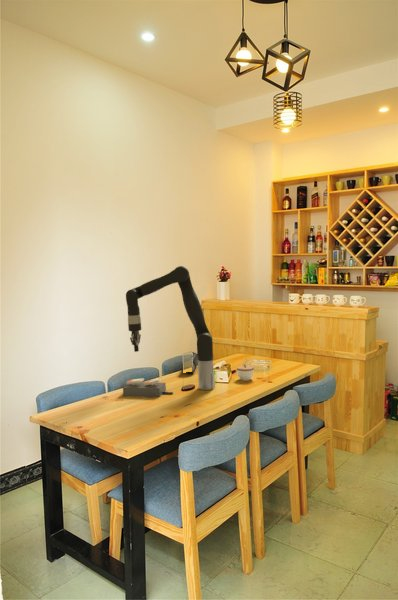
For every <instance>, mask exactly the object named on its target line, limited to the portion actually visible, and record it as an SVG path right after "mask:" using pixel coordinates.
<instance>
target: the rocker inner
mask: <svg viewBox="0 0 398 600" xmlns="http://www.w3.org/2000/svg"><path fill="white" fill-rule="evenodd" d="M161 381H162V378H161V377H158V378H153V379H149V380H147V381H144V382H145V383H144V385H149V384H151V385H154V384H155V383H160V382H161Z"/></svg>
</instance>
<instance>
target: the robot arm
mask: <svg viewBox="0 0 398 600" xmlns="http://www.w3.org/2000/svg"><path fill="white" fill-rule="evenodd" d="M176 283H177V285H178V286H179V289H180V292H181V296H182V301H183V305H184V309H185V311H186V313H187V316H188V318H189V319H188V320H189V321H190V322H191V324H192V325H193V328H194V331H195V335H196V351H197V352H196V353H197V356H198V363H197V373H198V374H197V376H198V389H199V390H202V391H209V390H214V389H215V386H216V381H215V379H216V378H215V371H214V348H213V347H214V346H213V345H214V344H213V337H212V335H211V333H210V331H209V328H208V325H207V324H206V320H205V316H204V312H203V308H202V306H201V302H200V300H199V298H198V295H197V293H196V291H195V289H194V287H193V284H192V281H191V276H190V271H189V269H188V268H187V267H186V266H184V265H179V266H177V267H175V268H174V269H173V270H171V271H170V272H168V273H166V274H164V275H162V276H160V277H157V278H154V279H151V280H149V281H147V282H145V283H143V284H141V285H138V286H136V287H134V288H132V289H131V288H130V289H128V290H127V291H126V293H125V302H126V306H127V326H128V332H131V336H130V337H129V339H130V343H131V345H132V346H133V349H134V352H135V353H137V352H139V351H140V350H139V349H140V347H139V345H140V343H141V338H142V337H141V336H142V335H141V334H140V331H141V330H142V318H141V311H140V306H139V299H140V298H143V297H145V296H148V295H151V294H153V293H156V292H158V291H160V290H161V289H164V288H165V287H168V286H170V285H173V284H176Z"/></svg>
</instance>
